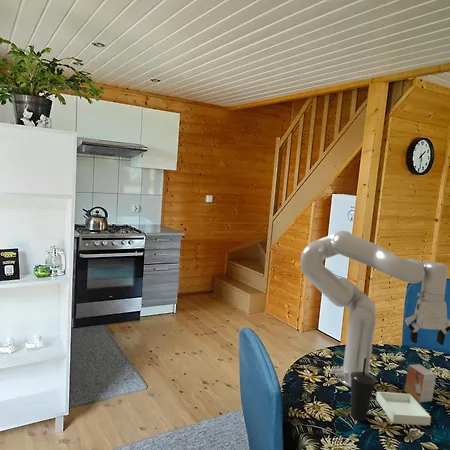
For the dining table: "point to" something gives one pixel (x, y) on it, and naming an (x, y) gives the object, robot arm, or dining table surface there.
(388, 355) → the dining table surface
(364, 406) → the drinking cup
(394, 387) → the dining table surface
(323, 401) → the dining table surface
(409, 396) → the tray
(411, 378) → the small box
